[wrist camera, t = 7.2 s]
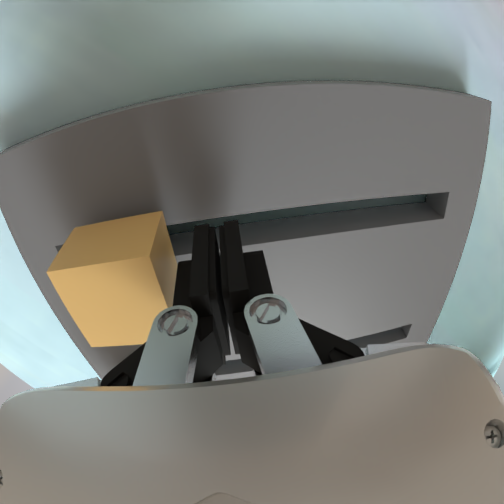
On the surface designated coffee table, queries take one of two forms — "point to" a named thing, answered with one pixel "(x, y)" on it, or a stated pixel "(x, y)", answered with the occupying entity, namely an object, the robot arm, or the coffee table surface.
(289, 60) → the coffee table surface
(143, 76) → the coffee table surface
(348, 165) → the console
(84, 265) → the block
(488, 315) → the coffee table surface
